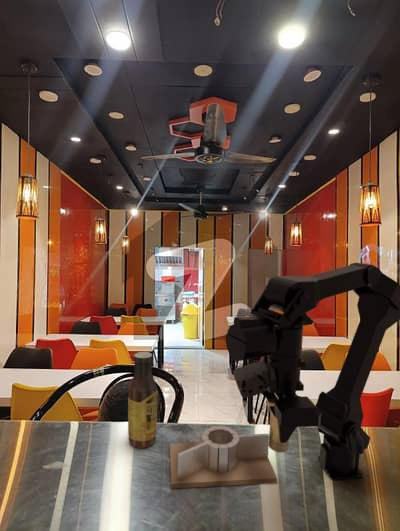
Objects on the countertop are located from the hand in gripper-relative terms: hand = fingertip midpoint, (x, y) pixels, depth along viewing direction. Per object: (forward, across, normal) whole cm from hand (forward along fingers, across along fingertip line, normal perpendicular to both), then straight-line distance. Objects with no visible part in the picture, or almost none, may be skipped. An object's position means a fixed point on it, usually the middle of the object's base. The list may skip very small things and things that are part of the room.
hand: (279, 435), depth 64 cm
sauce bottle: (+12, -18, -25) cm, 33 cm away
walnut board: (+12, -9, -9) cm, 17 cm away
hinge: (+11, -8, -8) cm, 16 cm away
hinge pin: (+2, 0, 0) cm, 2 cm away
